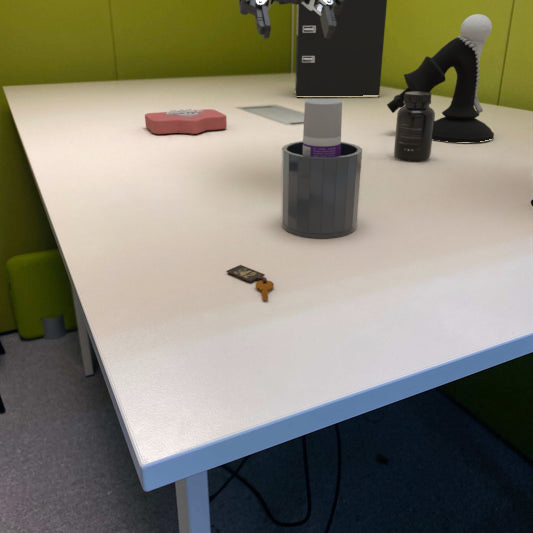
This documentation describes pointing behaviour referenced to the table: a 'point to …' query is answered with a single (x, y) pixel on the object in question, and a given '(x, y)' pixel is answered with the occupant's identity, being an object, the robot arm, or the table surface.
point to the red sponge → (185, 121)
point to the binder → (341, 51)
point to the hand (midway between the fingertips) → (298, 34)
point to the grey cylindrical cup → (320, 191)
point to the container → (322, 128)
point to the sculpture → (465, 95)
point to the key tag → (253, 278)
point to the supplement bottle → (414, 128)
